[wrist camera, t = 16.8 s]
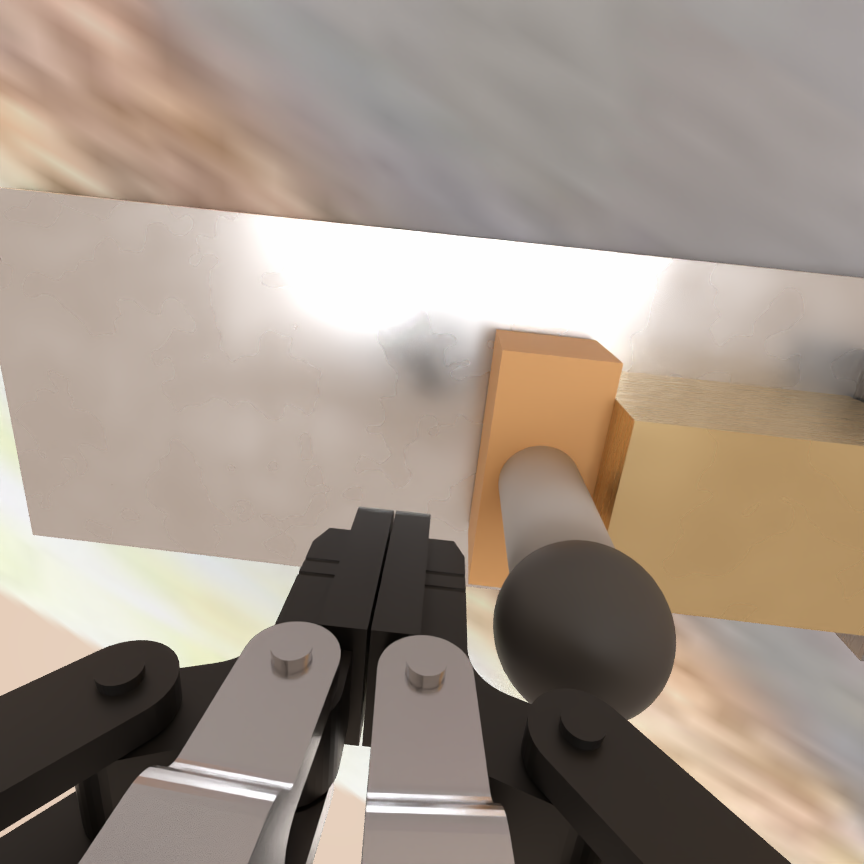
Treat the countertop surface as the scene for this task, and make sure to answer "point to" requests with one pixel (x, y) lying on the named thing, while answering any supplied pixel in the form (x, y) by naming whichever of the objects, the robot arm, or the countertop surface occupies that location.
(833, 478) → the block
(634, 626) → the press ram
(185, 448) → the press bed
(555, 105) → the countertop surface
